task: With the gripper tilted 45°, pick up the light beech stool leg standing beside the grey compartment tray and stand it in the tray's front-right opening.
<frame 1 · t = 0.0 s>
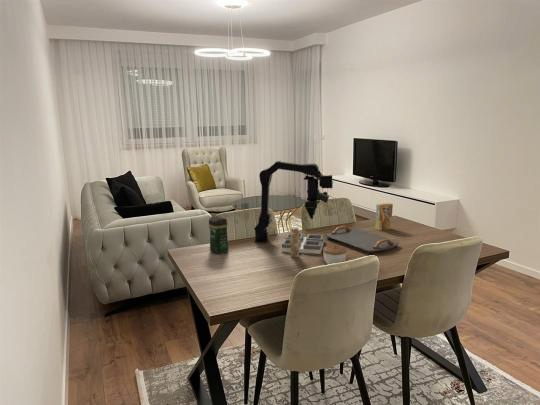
hand: (312, 216, 222), 15 cm above the table, tool pointing down, fingers open, 9 cm apart
lidded jar: (334, 265, 194), on the table
serving board: (361, 243, 225), on the table
stool leg: (294, 256, 205), on the table
grey compartment tray: (303, 246, 220), on the table
candy box: (383, 229, 249), on the table
coffee jar: (219, 252, 214), on the table
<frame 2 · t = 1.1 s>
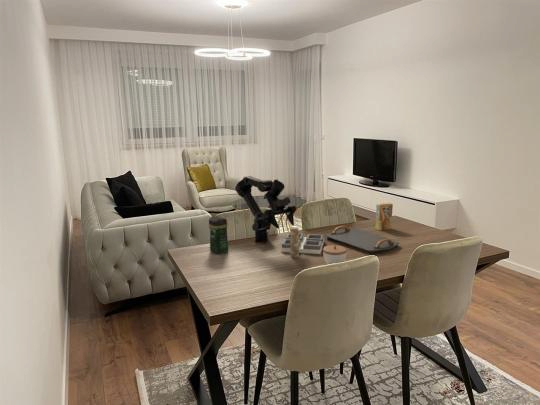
hand: (286, 226, 209), 13 cm above the table, tool tilted 45°, fingers open, 9 cm apart
nothing on the table moved.
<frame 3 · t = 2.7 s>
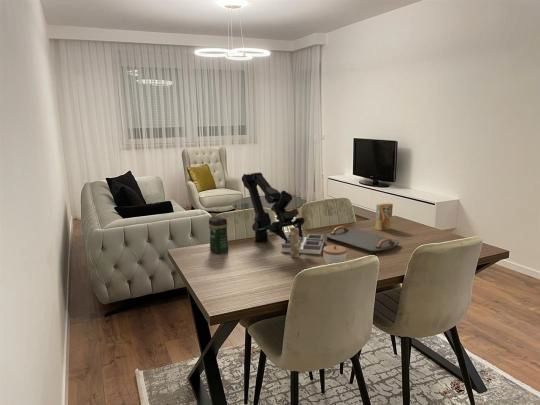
hand: (294, 239, 203), 9 cm above the table, tool tilted 45°, fingers open, 9 cm apart
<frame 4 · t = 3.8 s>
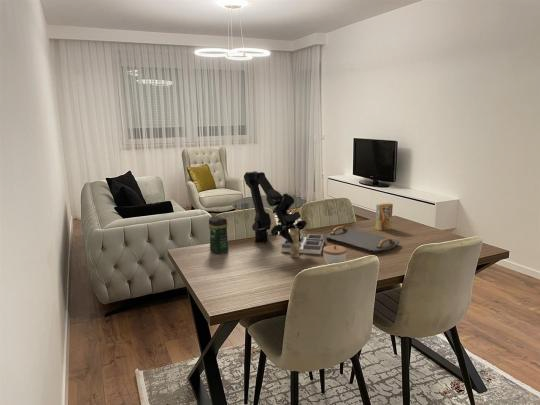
hand: (296, 242, 203), 8 cm above the table, tool tilted 45°, fingers closed on stool leg, 4 cm apart
stool leg: (294, 256, 205), on the table, touching gripper
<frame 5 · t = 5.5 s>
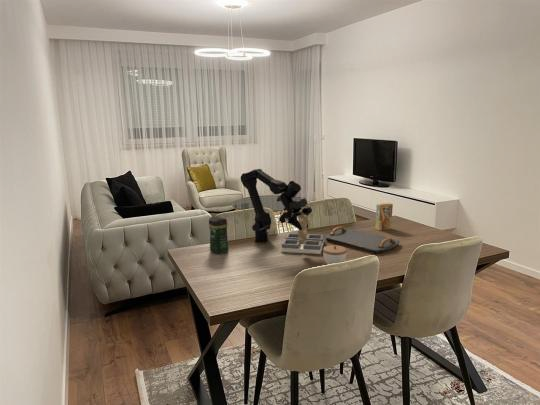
hand: (304, 228, 204), 14 cm above the table, tool tilted 45°, fingers closed on stool leg, 4 cm apart
stool leg: (302, 242, 207), point 6 cm above the table, touching gripper
when the fingers open (10 cm above the table, at t = 7.4 s): stool leg stays where it is, resting on grey compartment tray.
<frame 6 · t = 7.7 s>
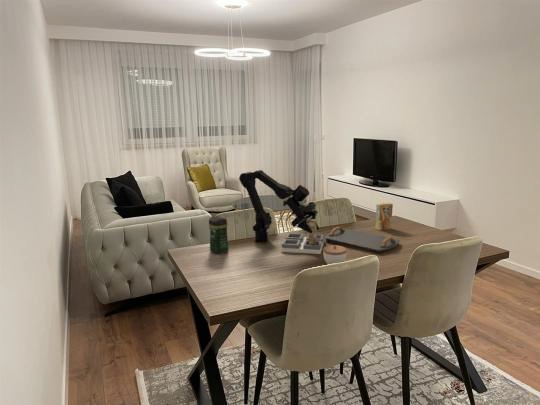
hand: (315, 231, 210), 11 cm above the table, tool tilted 45°, fingers open, 7 cm apart
stool leg: (312, 246, 213), point 2 cm above the table, touching grey compartment tray
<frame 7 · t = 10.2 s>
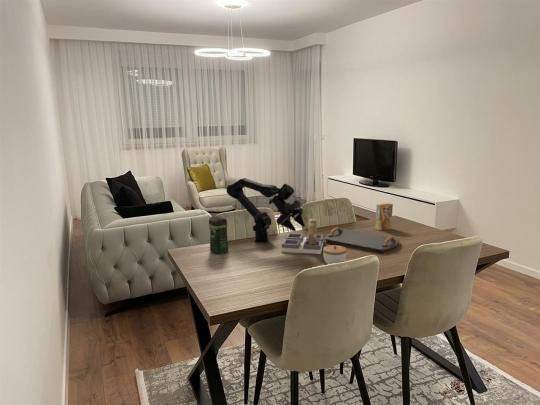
hand: (299, 228, 215), 11 cm above the table, tool tilted 45°, fingers open, 9 cm apart
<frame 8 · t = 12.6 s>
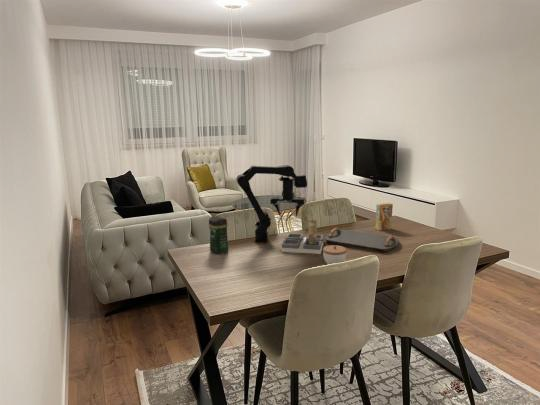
hand: (288, 216, 231), 13 cm above the table, tool pointing down, fingers open, 9 cm apart
at the end: stool leg 0.0 cm from the target spot on the grey compartment tray, point 2.0 cm above the grey compartment tray's base; stool leg tilted 0°; the gripper is holding nothing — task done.
